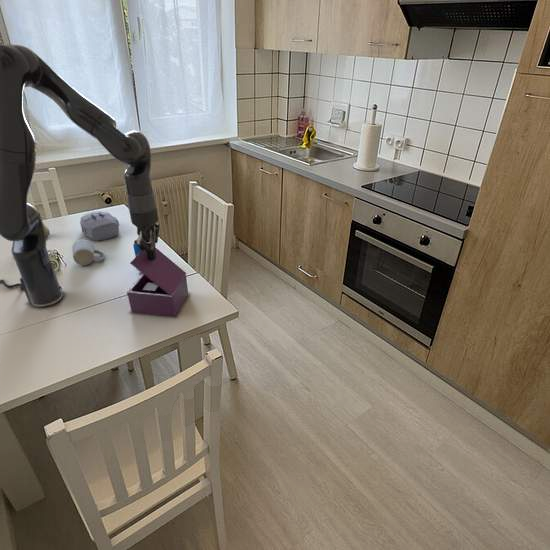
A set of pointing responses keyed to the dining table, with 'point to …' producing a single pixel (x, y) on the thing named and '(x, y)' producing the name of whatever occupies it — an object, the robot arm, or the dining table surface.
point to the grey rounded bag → (99, 225)
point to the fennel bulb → (44, 226)
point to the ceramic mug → (85, 252)
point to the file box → (156, 298)
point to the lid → (160, 270)
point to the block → (151, 288)
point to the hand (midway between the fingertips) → (152, 259)
